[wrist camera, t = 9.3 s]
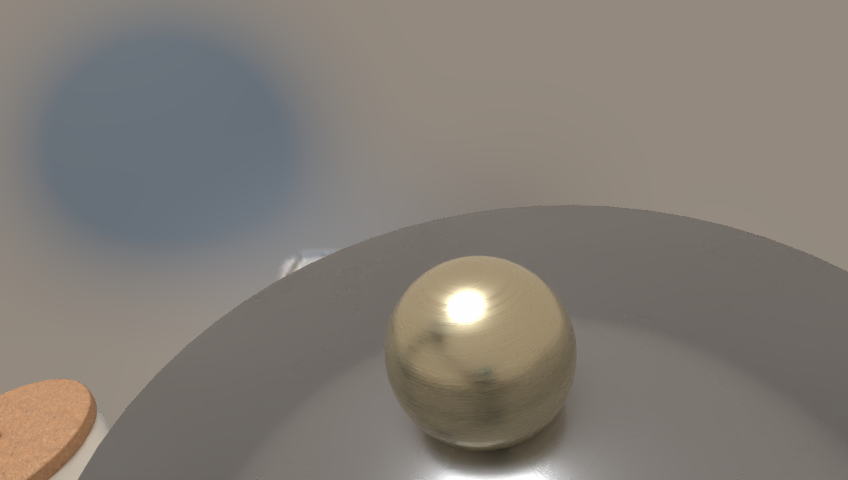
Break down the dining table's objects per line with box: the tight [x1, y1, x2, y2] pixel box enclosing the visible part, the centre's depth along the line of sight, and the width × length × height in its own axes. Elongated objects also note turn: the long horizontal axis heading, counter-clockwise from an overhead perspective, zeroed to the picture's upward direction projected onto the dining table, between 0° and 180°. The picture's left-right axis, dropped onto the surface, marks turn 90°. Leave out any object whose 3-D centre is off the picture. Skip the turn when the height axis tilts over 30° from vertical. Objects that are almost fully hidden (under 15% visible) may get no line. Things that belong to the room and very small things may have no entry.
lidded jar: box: [0, 379, 109, 480], centre depth 34 cm, size 11×11×9 cm
